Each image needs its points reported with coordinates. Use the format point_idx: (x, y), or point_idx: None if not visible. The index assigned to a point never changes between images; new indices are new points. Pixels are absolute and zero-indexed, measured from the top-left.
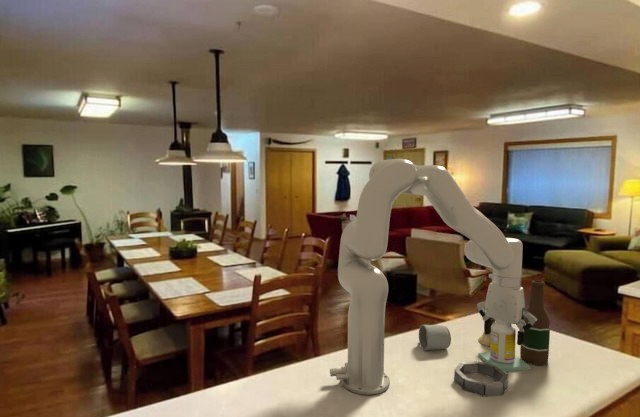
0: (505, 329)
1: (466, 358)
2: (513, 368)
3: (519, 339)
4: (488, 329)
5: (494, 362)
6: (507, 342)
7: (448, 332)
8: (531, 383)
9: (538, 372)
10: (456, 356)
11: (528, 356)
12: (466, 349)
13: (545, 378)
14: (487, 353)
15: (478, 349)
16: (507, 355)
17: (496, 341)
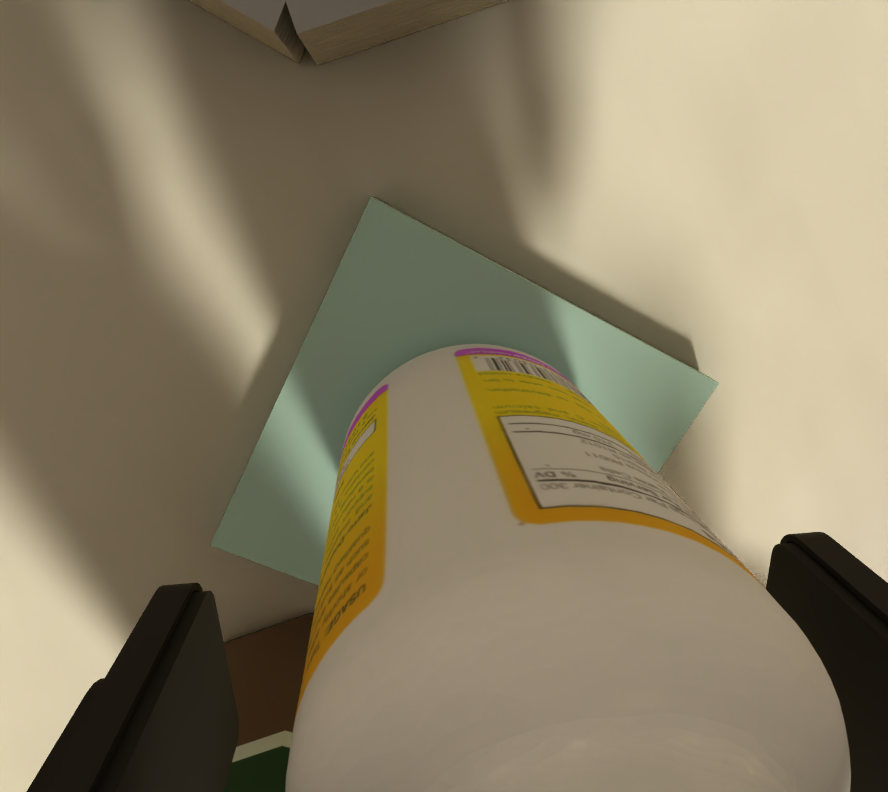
0: (408, 711)
1: (770, 217)
2: (288, 379)
3: (117, 663)
4: (827, 632)
5: (479, 315)
6: (355, 520)
7: None
8: (7, 262)
9: (138, 535)
10: (877, 165)
11: (287, 664)
12: (858, 414)
13: (21, 478)
14: (642, 453)
15: (766, 510)
16: (361, 428)
17: (528, 432)
